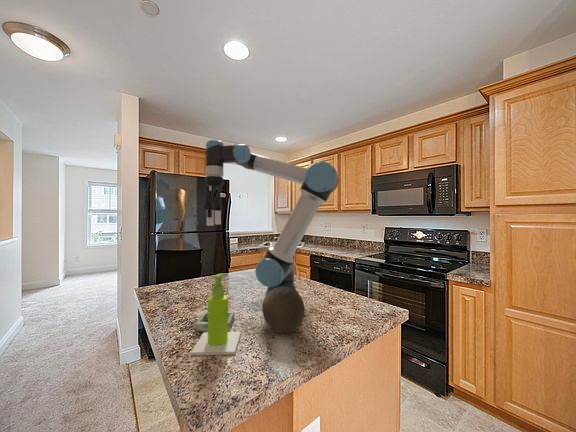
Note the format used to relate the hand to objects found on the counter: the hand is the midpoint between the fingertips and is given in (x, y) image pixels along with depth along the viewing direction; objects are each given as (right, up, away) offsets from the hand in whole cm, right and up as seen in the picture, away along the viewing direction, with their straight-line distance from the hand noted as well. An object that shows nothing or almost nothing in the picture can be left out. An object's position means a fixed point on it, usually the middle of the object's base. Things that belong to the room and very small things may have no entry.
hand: (214, 225), depth 110 cm
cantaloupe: (+31, -35, -27) cm, 54 cm away
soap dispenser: (+11, -34, -34) cm, 49 cm away
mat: (+11, -35, -34) cm, 50 cm away
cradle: (+7, -35, -21) cm, 41 cm away
